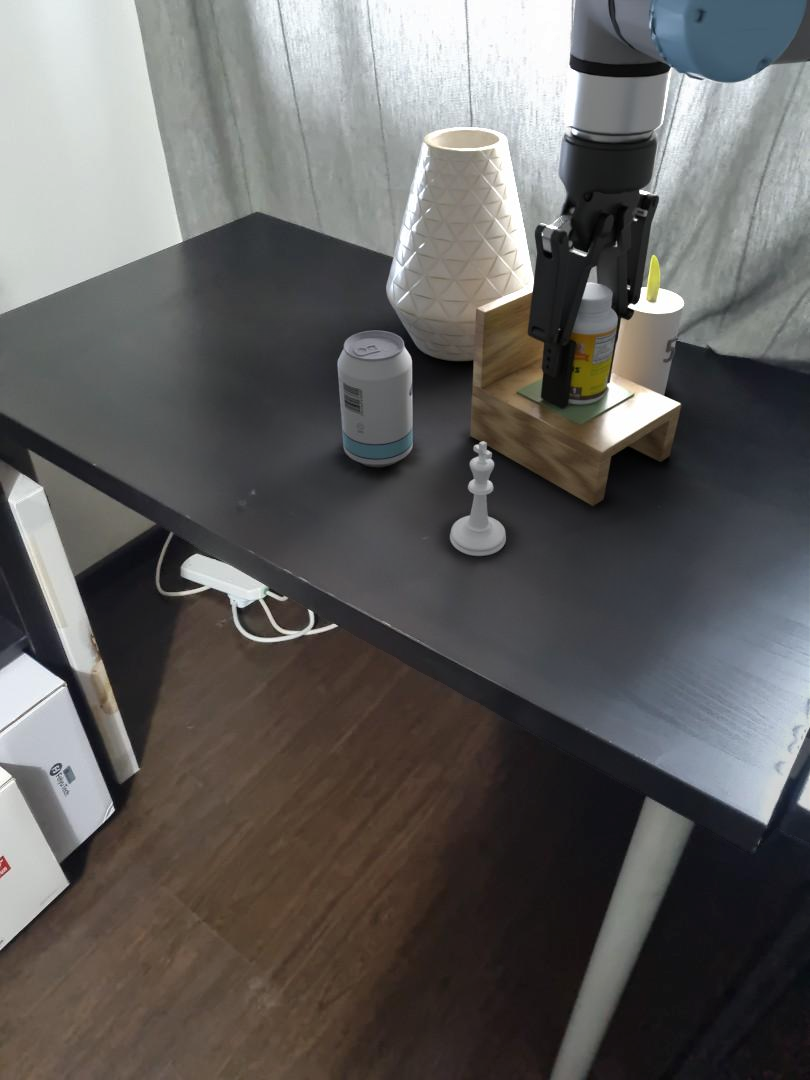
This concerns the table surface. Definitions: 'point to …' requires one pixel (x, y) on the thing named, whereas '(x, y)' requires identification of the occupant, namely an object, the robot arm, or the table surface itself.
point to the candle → (649, 335)
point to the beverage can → (376, 398)
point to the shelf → (556, 408)
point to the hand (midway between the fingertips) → (575, 389)
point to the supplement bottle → (592, 345)
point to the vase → (457, 240)
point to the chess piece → (479, 512)
